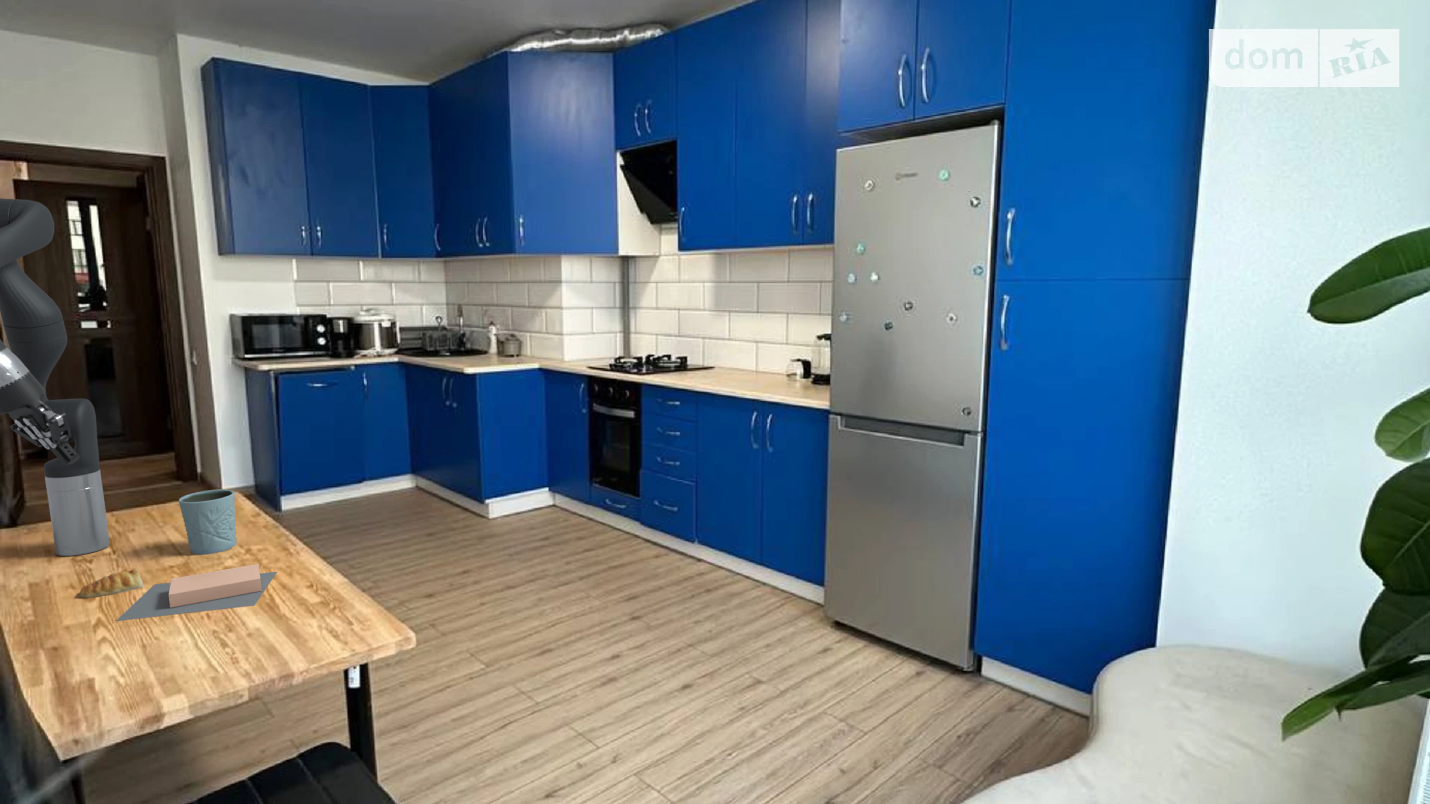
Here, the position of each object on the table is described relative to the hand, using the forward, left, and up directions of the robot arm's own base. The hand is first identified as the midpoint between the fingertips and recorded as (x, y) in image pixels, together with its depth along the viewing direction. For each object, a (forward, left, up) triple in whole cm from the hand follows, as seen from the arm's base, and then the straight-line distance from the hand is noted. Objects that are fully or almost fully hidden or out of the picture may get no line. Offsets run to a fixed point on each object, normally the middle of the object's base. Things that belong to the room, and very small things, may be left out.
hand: (72, 461), depth 138 cm
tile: (+7, +15, -24) cm, 29 cm away
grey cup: (-24, +13, -26) cm, 38 cm away
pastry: (-2, +3, -26) cm, 27 cm away
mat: (+6, +20, -26) cm, 33 cm away
